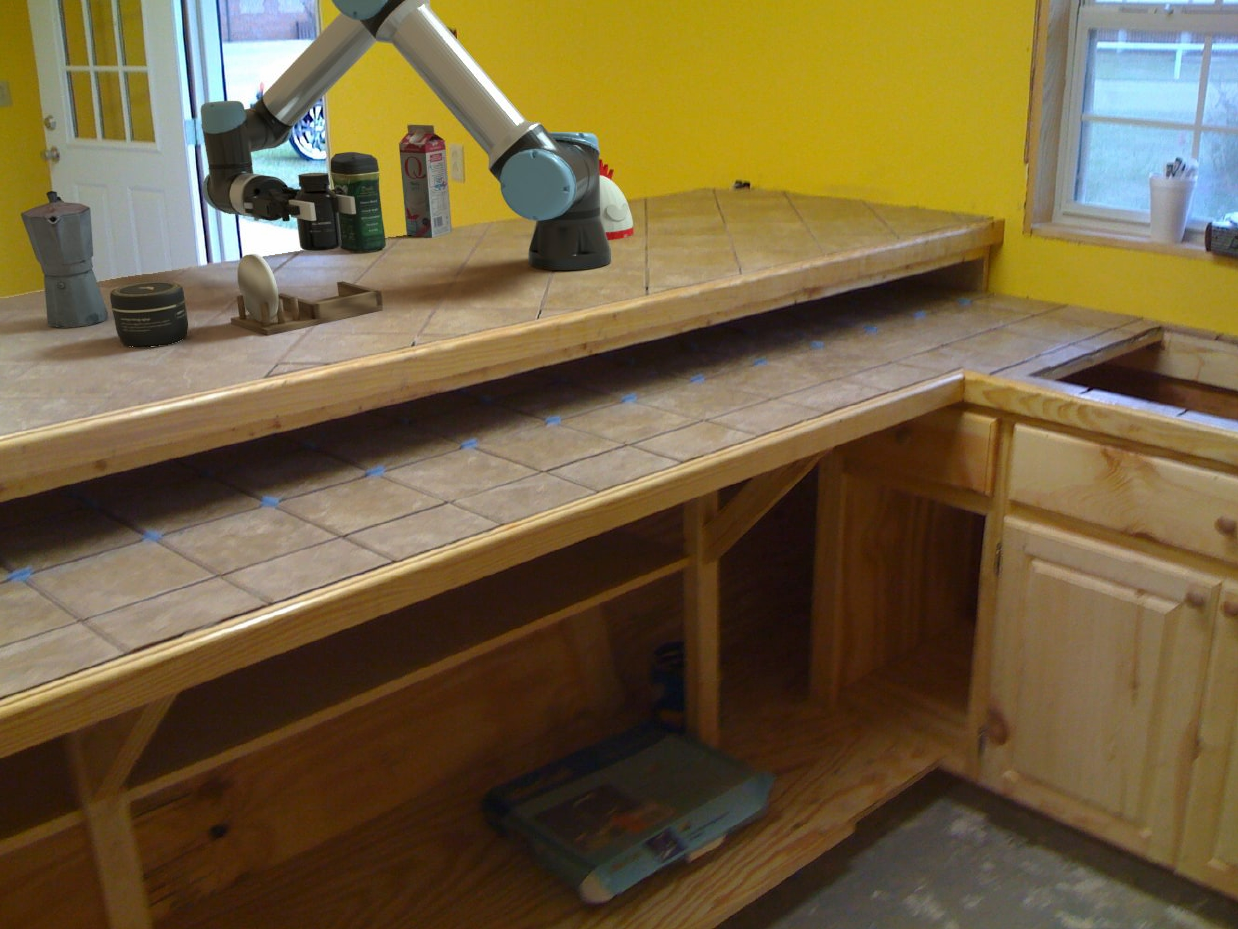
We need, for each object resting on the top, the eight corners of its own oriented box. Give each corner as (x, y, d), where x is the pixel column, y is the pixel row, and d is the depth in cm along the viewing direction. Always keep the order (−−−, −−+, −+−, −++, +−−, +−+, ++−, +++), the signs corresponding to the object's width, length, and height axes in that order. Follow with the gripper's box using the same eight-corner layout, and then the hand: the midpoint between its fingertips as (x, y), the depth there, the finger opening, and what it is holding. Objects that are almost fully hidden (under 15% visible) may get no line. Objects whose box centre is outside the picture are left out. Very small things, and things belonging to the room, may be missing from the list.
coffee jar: (393, 249, 233) (384, 152, 226) (356, 255, 228) (346, 156, 222) (368, 243, 240) (359, 148, 233) (332, 248, 235) (322, 152, 228)
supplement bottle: (321, 253, 193) (312, 177, 188) (291, 250, 196) (281, 175, 192) (351, 245, 198) (342, 172, 194) (321, 242, 202) (312, 170, 197)
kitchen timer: (552, 235, 244) (548, 160, 239) (601, 226, 253) (599, 153, 247) (597, 243, 235) (594, 165, 229) (647, 233, 243) (646, 158, 238)
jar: (137, 331, 178) (129, 280, 175) (202, 331, 177) (194, 280, 174) (105, 349, 168) (95, 296, 166) (173, 349, 167) (164, 296, 165)
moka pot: (42, 336, 176) (14, 199, 169) (44, 313, 189) (18, 185, 182) (111, 328, 179) (87, 193, 172) (108, 306, 193) (85, 181, 185)
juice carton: (432, 237, 244) (423, 126, 236) (406, 235, 247) (397, 125, 239) (451, 232, 249) (443, 123, 241) (426, 230, 252) (417, 122, 244)
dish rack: (344, 299, 194) (337, 233, 190) (382, 310, 186) (376, 241, 183) (231, 323, 181) (221, 252, 177) (267, 335, 173) (258, 261, 170)
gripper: (313, 211, 215) (386, 223, 199) (212, 227, 202) (281, 241, 186) (308, 168, 212) (382, 177, 196) (205, 182, 199) (275, 192, 184)
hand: (333, 208), depth 191 cm, fingers closed on supplement bottle, 7 cm apart
